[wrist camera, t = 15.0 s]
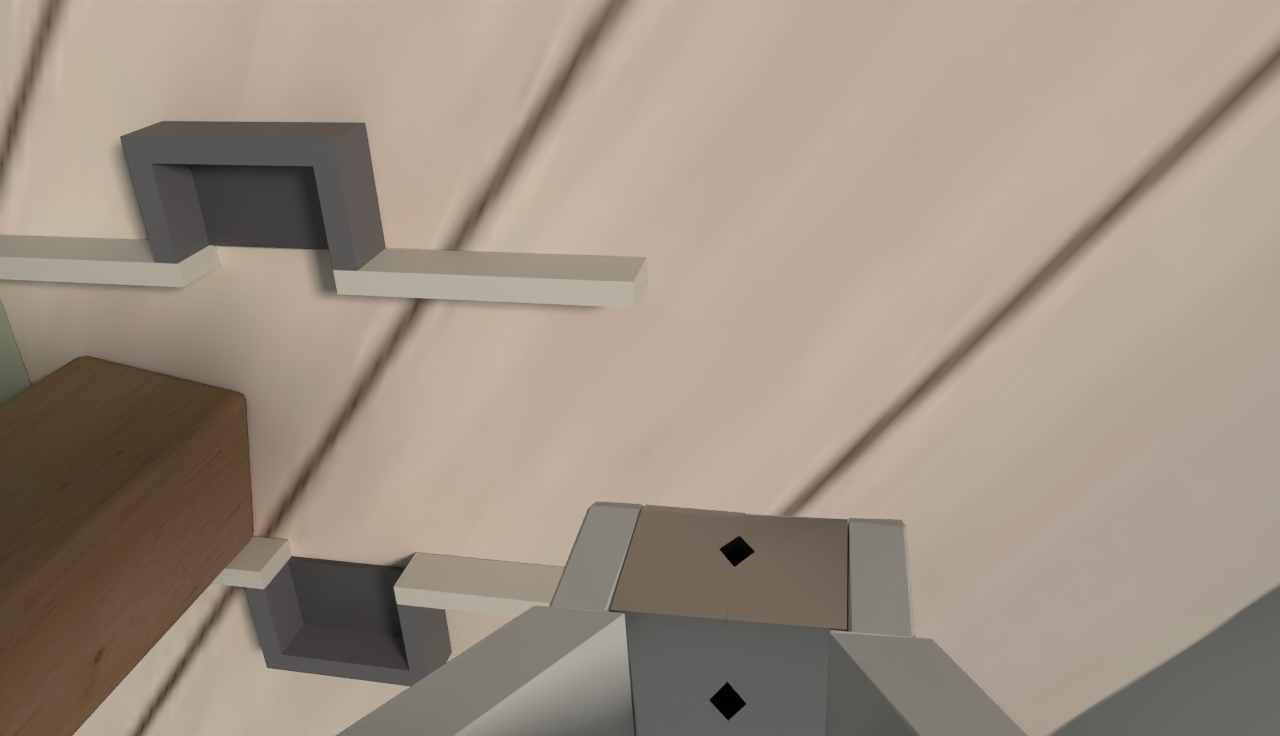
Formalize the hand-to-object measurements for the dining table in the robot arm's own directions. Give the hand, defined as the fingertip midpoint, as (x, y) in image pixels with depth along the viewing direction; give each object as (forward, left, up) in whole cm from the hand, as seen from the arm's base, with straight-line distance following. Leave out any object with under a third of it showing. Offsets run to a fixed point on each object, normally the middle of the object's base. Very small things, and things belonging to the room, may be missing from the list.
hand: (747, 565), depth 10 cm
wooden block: (-20, -37, -34) cm, 54 cm away
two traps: (-13, -30, -34) cm, 47 cm away
